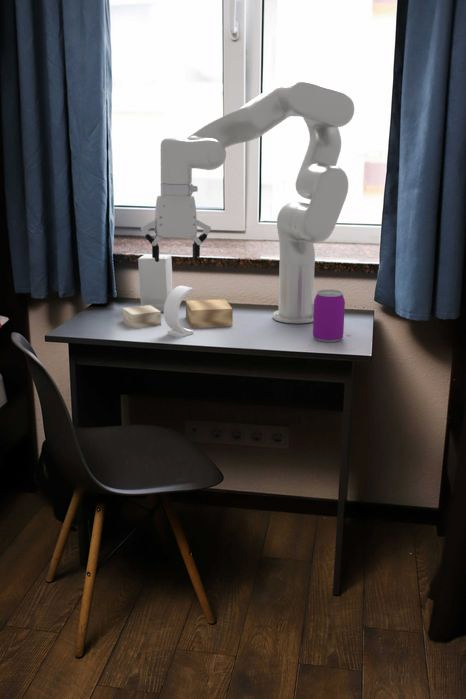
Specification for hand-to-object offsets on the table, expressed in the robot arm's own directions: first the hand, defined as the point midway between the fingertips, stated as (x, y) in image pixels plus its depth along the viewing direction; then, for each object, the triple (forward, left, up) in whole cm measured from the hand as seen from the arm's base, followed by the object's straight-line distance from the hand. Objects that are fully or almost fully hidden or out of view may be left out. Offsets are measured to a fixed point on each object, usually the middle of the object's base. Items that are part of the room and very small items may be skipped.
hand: (176, 260), depth 199 cm
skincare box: (+1, -27, -19) cm, 33 cm away
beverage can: (-36, +12, -19) cm, 43 cm away
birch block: (+7, -13, -20) cm, 25 cm away
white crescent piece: (0, 0, -19) cm, 19 cm away
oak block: (-10, -11, -20) cm, 25 cm away
